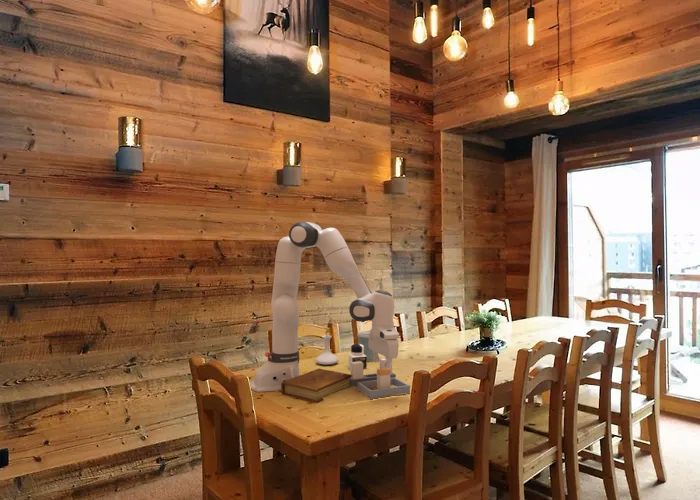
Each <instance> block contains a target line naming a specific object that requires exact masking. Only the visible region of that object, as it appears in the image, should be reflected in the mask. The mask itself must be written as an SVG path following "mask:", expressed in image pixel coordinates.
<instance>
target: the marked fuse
mask: <svg viewBox="0 0 700 500" xmlns="http://www.w3.org/2000/svg"><path fill="white" fill-rule="evenodd" d="M376 373H377V387H376V390H378V389H385V388H391V385H390V369H388V368H382V369H380V368H377V369H376Z"/></svg>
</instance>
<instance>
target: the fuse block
mask: <svg viewBox="0 0 700 500" xmlns="http://www.w3.org/2000/svg"><path fill="white" fill-rule="evenodd" d="M390 378H397V375H396V374H395V373H394V372H392V374H390ZM372 380H377V372H376V373H368V374H363V378H359V379H352V378H351V377H350V386H349V387H350V388H353V387H355V388H357V382H365V381H372Z"/></svg>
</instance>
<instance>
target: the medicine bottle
mask: <svg viewBox="0 0 700 500" xmlns="http://www.w3.org/2000/svg"><path fill="white" fill-rule="evenodd" d="M350 347H351V348H350V351H351V353H348V369H349V370H350V371H351V362H358V361H361V362H363V370H367V369H368V364H367V356H366V355H364V354H363V353H364V346H363V345H362V344H359V343H354V344H351V346H350Z"/></svg>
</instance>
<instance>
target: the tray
mask: <svg viewBox="0 0 700 500" xmlns="http://www.w3.org/2000/svg"><path fill="white" fill-rule="evenodd" d="M391 385H392V386H393V385H394V386H393V387H390V388H385V389H378V390H377V389H374V390H373V389H372V390H371V388H377V380H372V381H365V382H357V386H356V389H357V390H358V391H359V392H361V393H363V394H364V395H365V396H367V397H369V399H370V400H369V401H374V400H373V399H377V400H379V399H378V398H384V397H390V396H397V395H403V396H407V395H406V394H409V395H411V385H410V384H408V383H406V382H404V381H402V380H401V379H399V378H397V377H396V378H390V386H391ZM397 397H398V396H397ZM390 398H391V397H390ZM384 399H385V398H384Z"/></svg>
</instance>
